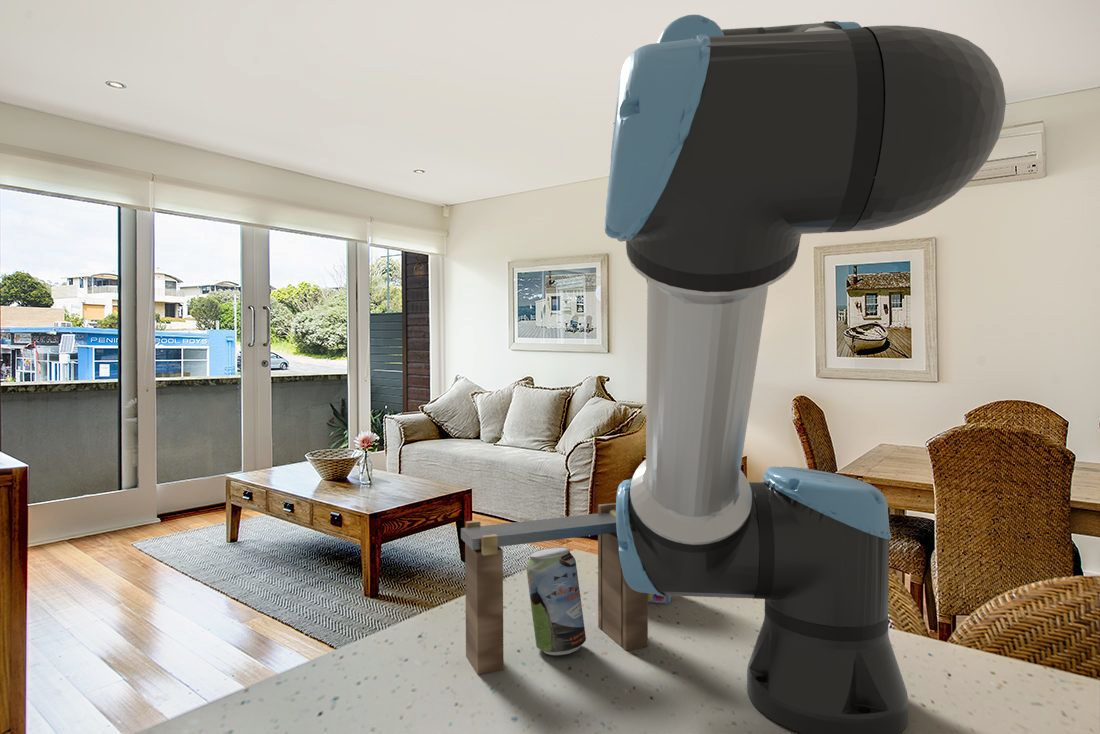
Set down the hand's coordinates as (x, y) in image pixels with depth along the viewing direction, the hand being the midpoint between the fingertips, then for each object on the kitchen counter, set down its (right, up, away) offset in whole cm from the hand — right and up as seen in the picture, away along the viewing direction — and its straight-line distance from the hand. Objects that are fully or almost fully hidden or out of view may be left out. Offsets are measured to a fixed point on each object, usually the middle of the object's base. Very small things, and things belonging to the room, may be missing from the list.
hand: (680, 362), depth 85 cm
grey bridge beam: (-17, -21, -6) cm, 27 cm away
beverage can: (-16, -35, -6) cm, 39 cm away
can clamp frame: (-16, -35, -6) cm, 39 cm away
